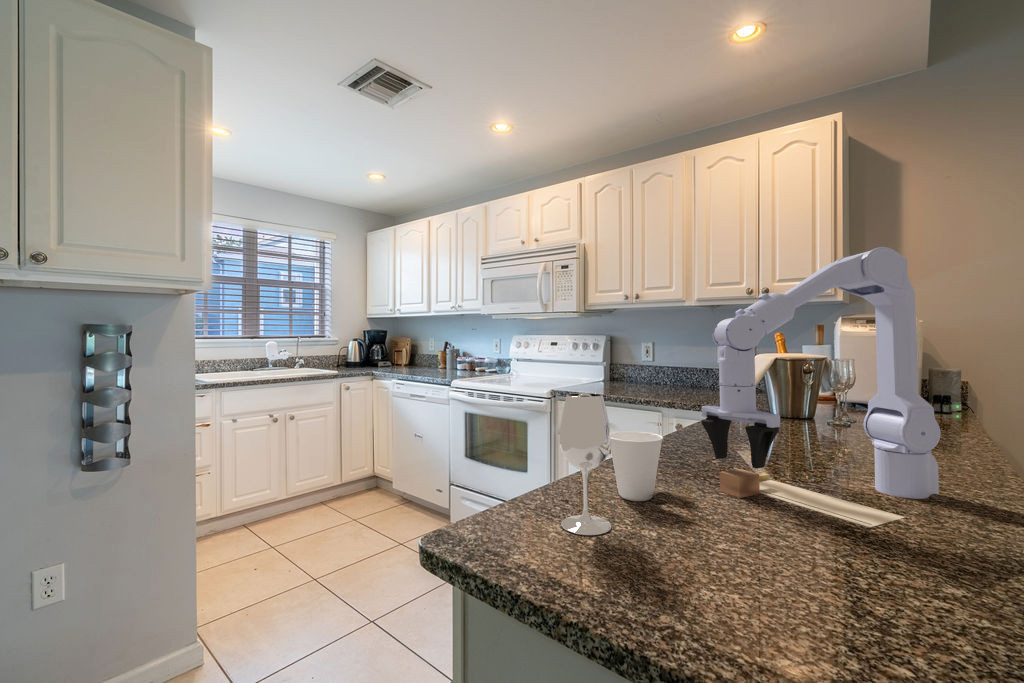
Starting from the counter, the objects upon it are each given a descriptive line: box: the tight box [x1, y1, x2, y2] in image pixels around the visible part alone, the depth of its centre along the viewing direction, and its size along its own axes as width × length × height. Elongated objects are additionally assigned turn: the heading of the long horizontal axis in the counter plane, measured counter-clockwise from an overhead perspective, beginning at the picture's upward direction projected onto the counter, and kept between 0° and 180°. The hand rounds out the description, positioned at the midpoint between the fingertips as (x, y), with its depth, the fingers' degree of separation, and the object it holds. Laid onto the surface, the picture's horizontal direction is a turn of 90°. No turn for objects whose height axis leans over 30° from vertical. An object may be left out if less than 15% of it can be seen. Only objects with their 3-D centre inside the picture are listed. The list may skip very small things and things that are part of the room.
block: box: [719, 468, 771, 499], centre depth 82 cm, size 10×4×5 cm, turn 114°
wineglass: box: [558, 392, 612, 536], centre depth 71 cm, size 8×8×20 cm
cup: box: [610, 430, 664, 502], centre depth 85 cm, size 10×10×11 cm
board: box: [759, 479, 906, 528], centre depth 77 cm, size 9×22×2 cm, turn 24°
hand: (739, 462), depth 81 cm, fingers open, 7 cm apart
